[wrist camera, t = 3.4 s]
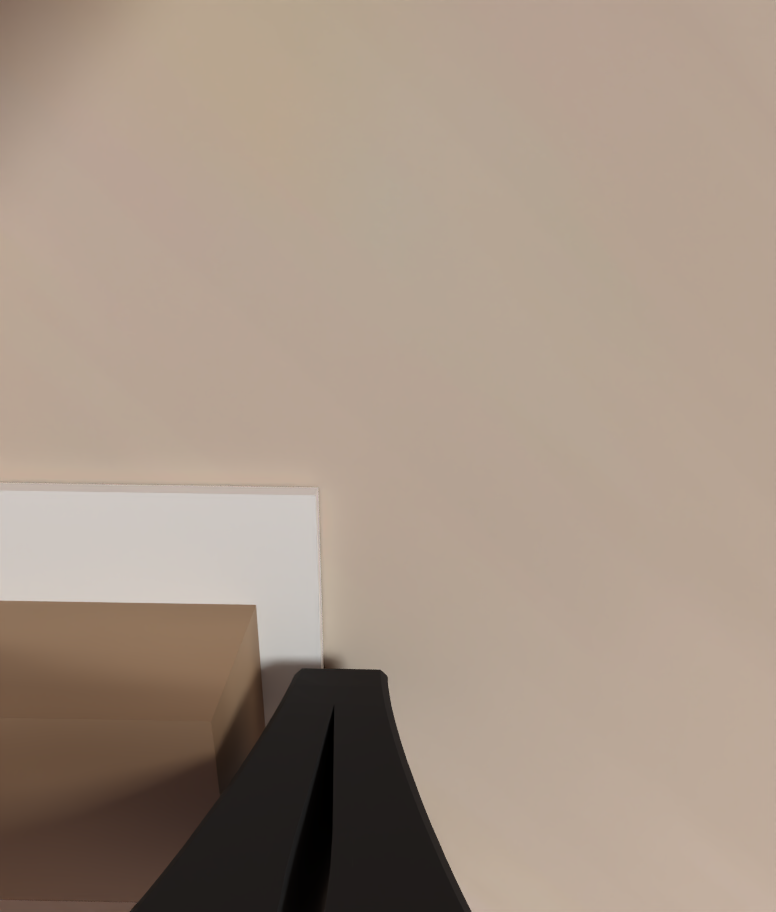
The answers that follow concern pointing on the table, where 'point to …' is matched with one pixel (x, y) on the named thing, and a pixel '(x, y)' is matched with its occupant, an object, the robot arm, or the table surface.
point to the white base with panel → (175, 556)
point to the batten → (117, 738)
